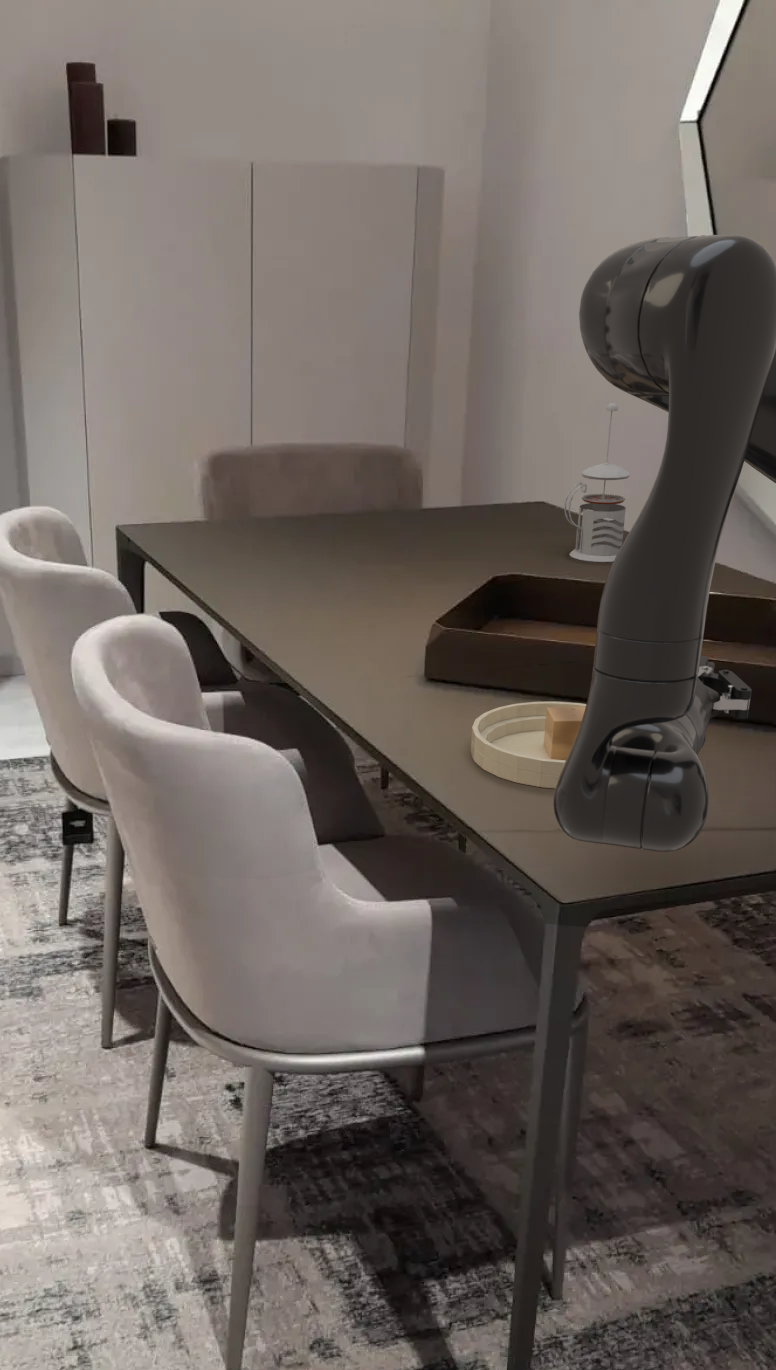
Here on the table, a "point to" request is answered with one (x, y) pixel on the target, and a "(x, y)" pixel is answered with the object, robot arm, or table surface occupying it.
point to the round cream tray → (517, 743)
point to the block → (561, 730)
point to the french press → (600, 513)
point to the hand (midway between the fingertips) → (680, 665)
